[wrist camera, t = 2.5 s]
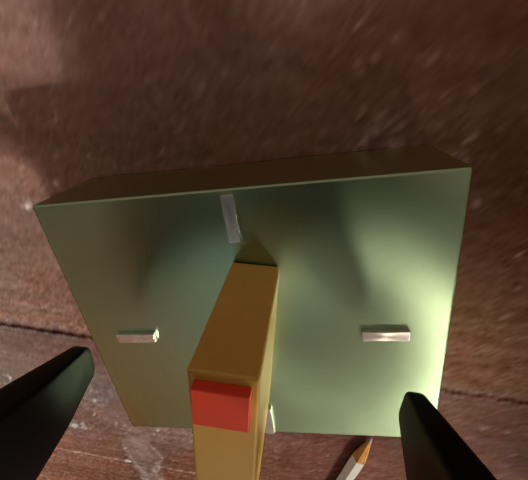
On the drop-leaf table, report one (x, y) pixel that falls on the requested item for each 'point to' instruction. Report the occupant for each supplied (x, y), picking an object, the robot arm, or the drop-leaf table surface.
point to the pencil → (355, 462)
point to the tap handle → (234, 375)
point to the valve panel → (290, 278)
